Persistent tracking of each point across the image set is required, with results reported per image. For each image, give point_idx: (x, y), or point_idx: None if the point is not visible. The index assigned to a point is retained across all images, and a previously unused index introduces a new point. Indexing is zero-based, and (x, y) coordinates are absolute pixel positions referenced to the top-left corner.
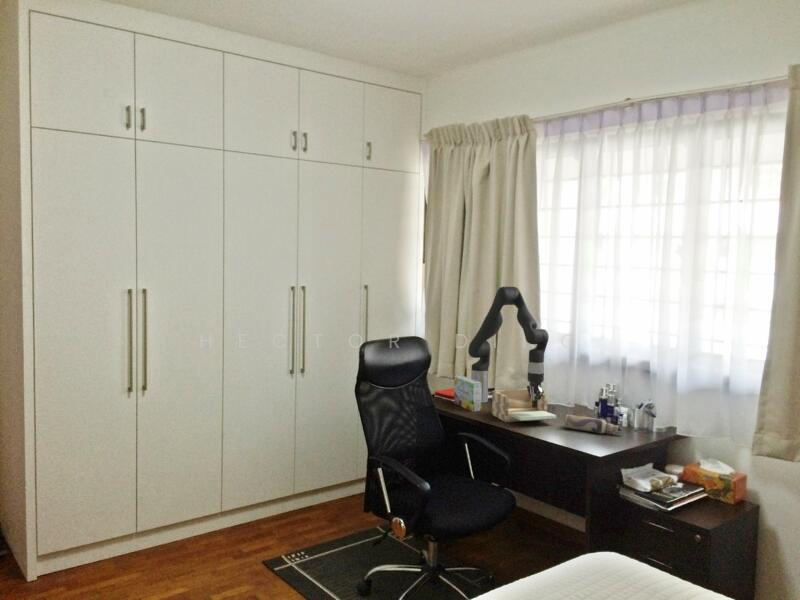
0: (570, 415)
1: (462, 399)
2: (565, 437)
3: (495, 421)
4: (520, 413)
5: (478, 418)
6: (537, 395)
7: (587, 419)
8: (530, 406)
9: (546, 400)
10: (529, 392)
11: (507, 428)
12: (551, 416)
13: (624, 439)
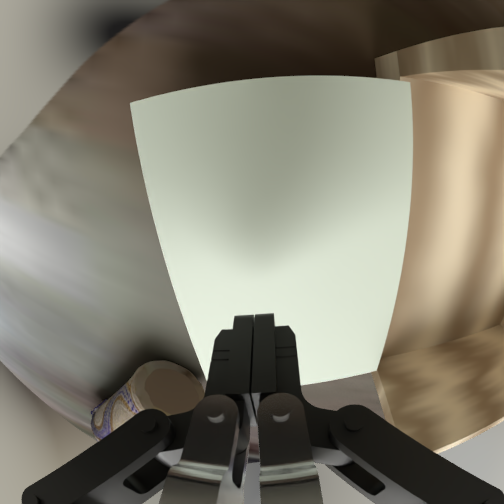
0: None
1: None
2: (26, 291)
3: (394, 5)
4: (353, 174)
5: None
6: (73, 466)
7: (109, 429)
8: (500, 326)
9: None
10: (392, 473)
11: (170, 9)
12: (203, 367)
13: (73, 410)
